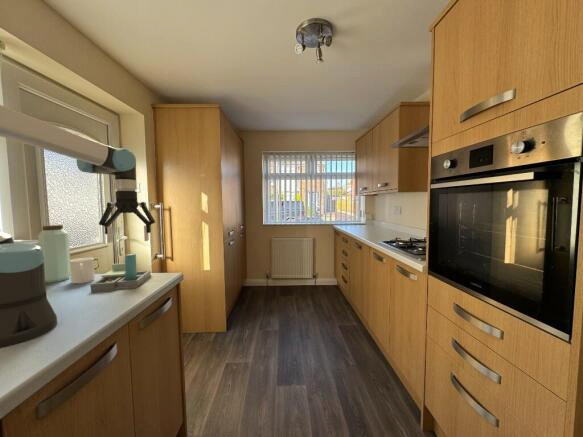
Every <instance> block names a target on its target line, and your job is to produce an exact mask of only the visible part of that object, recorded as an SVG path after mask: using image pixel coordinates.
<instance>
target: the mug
mask: <svg viewBox="0 0 583 437" xmlns="http://www.w3.org/2000/svg"><path fill="white" fill-rule="evenodd" d="M94 261H95V259H94V257H88V256H87V257H80V258H79V257H78V258H73V259H70V270H71V276H70V279H71V280H70V282H71V284H74V283H78V284H84V282H85V283H88V282H89V281H90V282H91V281H95V280H96V278H95V276H96V275H95V262H94Z"/></svg>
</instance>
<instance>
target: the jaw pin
mask: <svg viewBox="0 0 583 437" xmlns="http://www.w3.org/2000/svg"><path fill="white" fill-rule="evenodd" d="M124 263H125V279H126V281H129V280H137V272H138V271H137V254H136V253H131V254H130V253H129V254H124Z"/></svg>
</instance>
